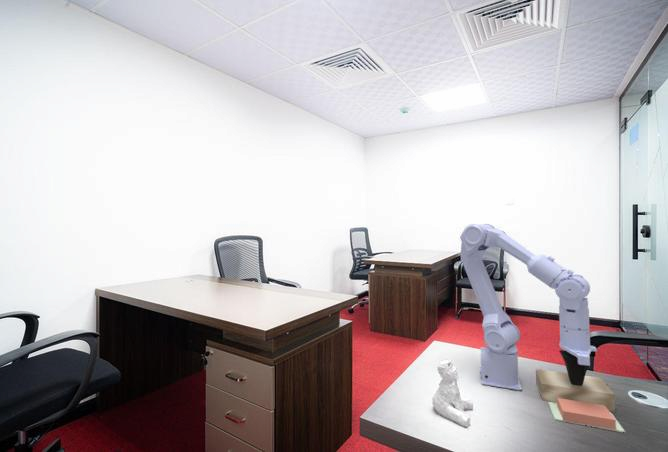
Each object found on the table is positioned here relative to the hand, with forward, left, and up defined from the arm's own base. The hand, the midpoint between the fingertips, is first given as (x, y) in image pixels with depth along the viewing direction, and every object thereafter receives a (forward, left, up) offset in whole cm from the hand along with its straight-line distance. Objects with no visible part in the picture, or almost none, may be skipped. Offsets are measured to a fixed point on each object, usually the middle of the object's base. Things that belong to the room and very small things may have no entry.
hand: (576, 384), depth 76 cm
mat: (0, -5, -5) cm, 7 cm away
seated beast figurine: (-27, -14, -5) cm, 31 cm away
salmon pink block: (0, -6, -3) cm, 7 cm away
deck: (0, +4, -5) cm, 6 cm away
